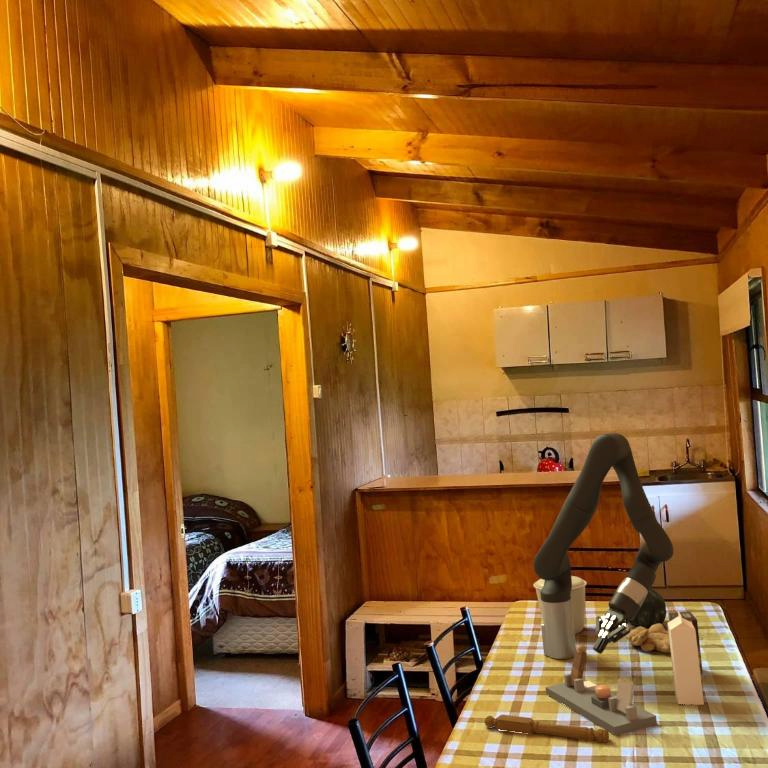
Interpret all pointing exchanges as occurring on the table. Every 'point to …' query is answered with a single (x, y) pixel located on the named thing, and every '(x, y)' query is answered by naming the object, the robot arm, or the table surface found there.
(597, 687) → the terracotta button
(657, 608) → the squash
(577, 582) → the canister
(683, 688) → the milk
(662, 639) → the ginger root
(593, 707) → the control panel
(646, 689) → the table surface
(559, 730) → the turned wooden table leg
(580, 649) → the walnut lever
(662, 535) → the robot arm
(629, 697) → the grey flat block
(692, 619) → the coffee box
